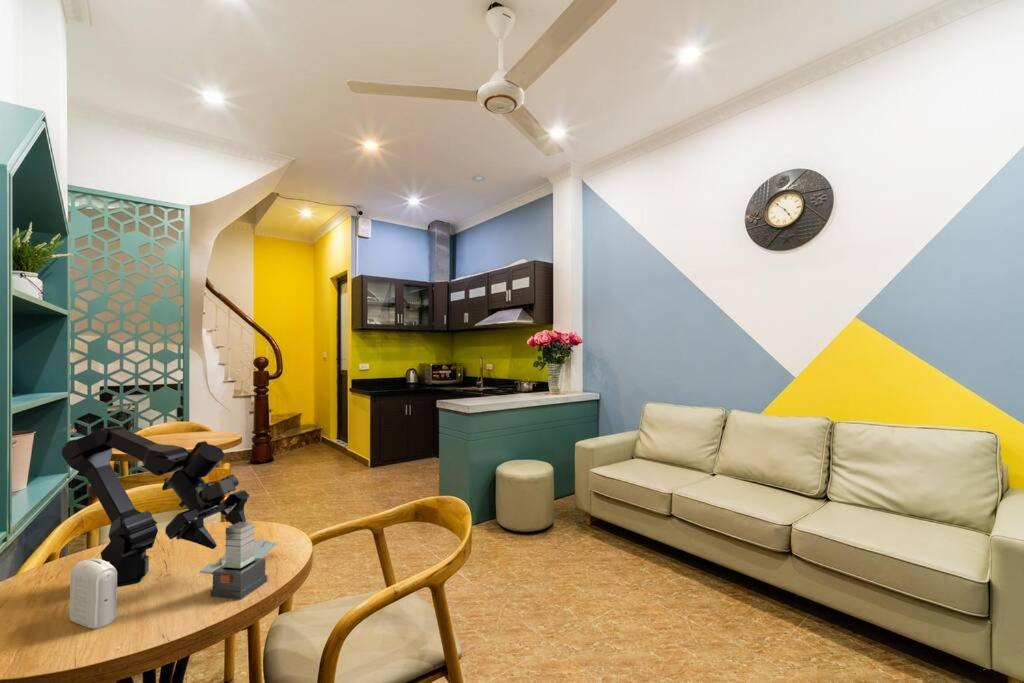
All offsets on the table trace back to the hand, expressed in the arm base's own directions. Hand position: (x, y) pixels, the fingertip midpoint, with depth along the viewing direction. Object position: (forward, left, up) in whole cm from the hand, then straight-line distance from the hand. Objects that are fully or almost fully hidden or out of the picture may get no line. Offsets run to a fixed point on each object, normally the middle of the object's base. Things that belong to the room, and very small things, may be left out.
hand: (231, 539), depth 103 cm
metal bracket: (+1, +14, -12) cm, 18 cm away
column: (+2, -1, -6) cm, 6 cm away
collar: (+2, -1, -11) cm, 12 cm away
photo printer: (-24, -2, -12) cm, 27 cm away
